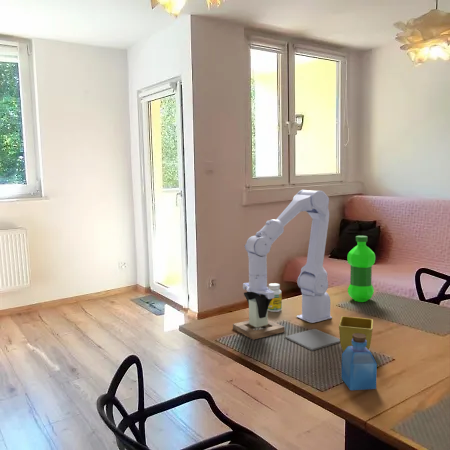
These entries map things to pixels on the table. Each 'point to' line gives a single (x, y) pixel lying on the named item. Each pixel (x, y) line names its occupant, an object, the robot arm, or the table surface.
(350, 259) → the plastic bottle
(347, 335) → the flower pot
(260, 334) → the wooden square frame
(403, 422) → the table surface
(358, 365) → the perfume bottle
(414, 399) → the table surface
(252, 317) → the sage link block
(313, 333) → the charcoal mat
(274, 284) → the supplement bottle
